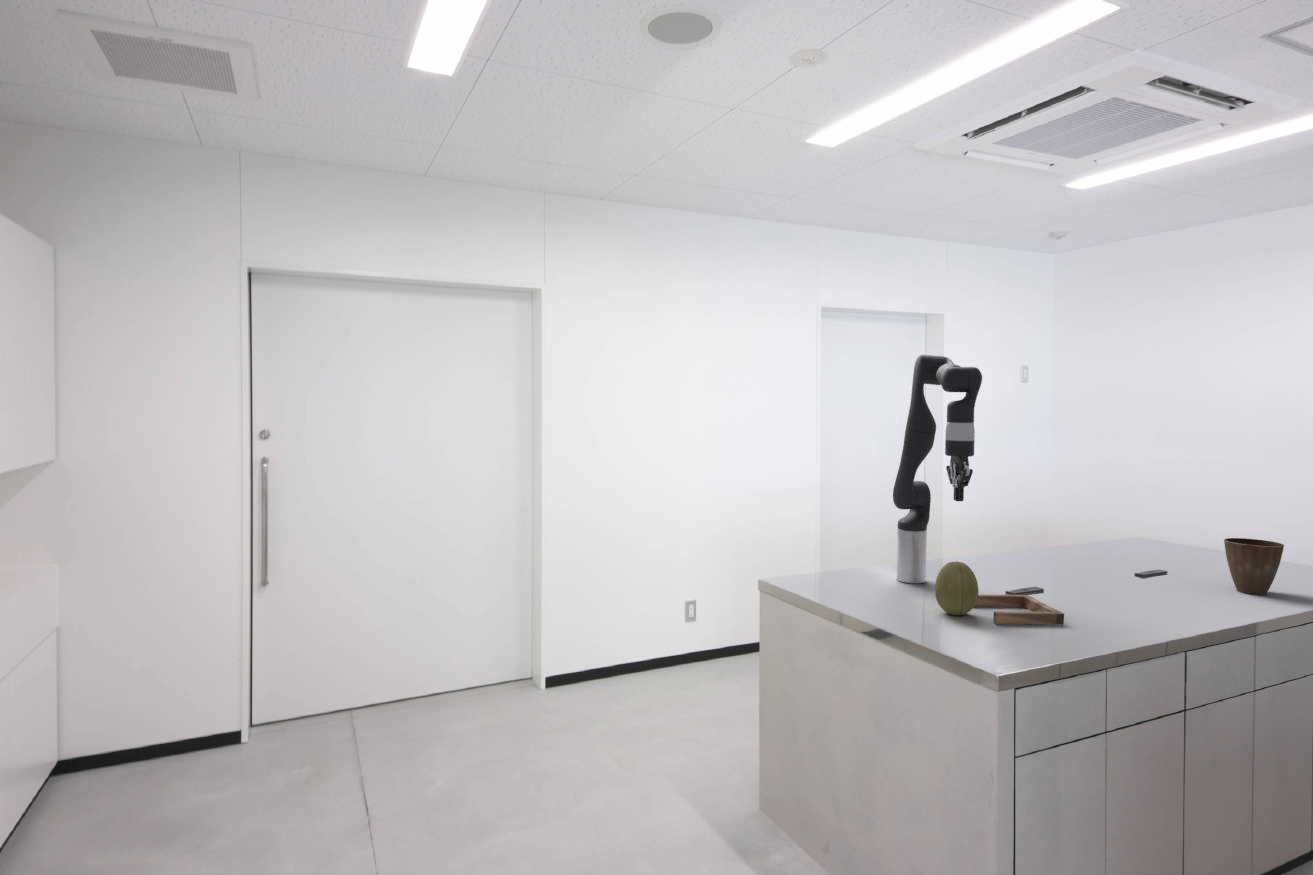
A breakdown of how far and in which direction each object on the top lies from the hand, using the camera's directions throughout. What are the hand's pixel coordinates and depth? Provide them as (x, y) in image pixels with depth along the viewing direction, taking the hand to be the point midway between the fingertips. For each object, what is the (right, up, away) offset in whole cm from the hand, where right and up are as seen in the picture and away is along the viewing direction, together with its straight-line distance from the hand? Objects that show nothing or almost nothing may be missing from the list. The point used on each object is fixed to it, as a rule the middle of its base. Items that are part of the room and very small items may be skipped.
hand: (958, 500), depth 212 cm
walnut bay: (+15, -32, +2) cm, 35 cm away
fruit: (0, -32, +2) cm, 32 cm away
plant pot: (+104, -31, +28) cm, 112 cm away
